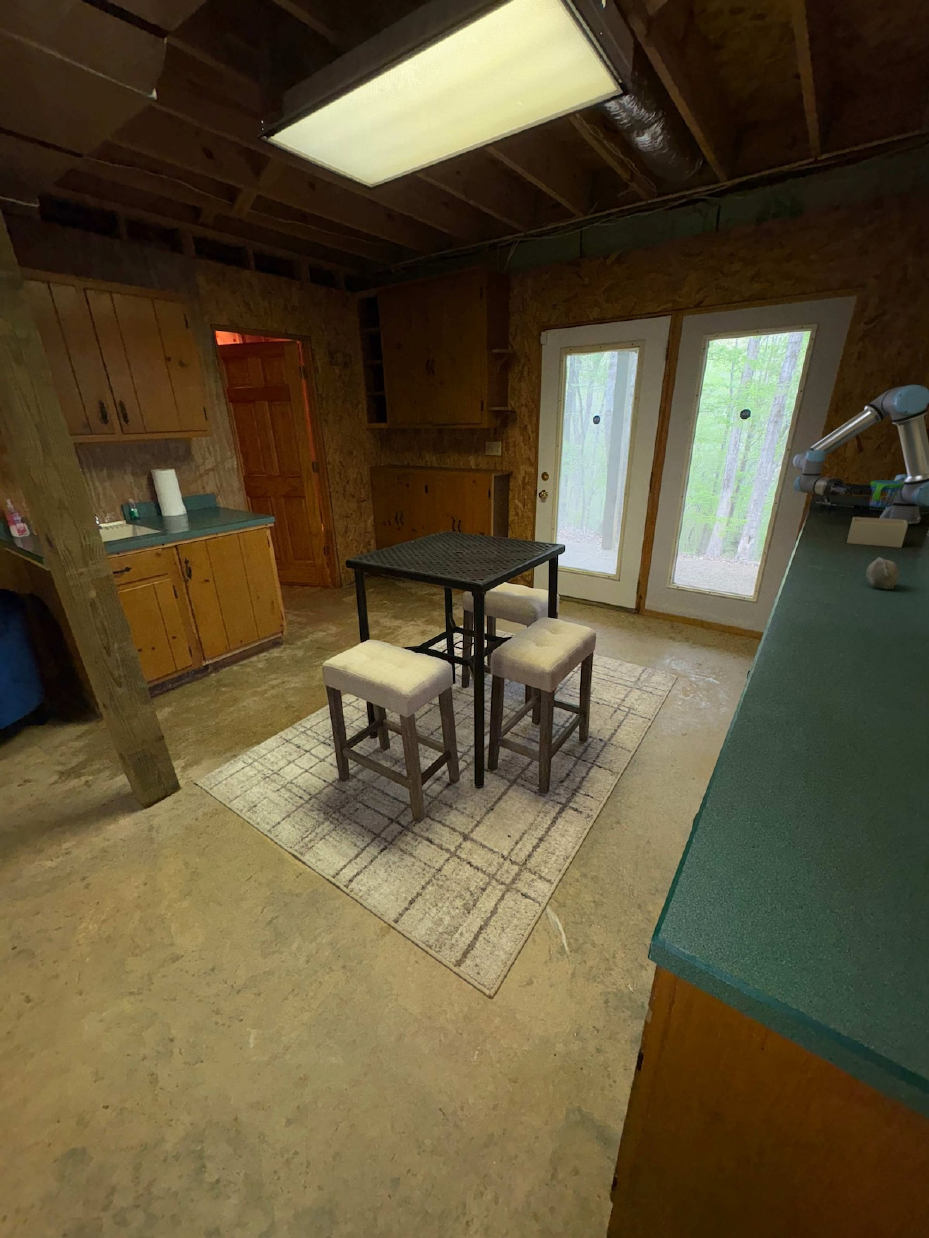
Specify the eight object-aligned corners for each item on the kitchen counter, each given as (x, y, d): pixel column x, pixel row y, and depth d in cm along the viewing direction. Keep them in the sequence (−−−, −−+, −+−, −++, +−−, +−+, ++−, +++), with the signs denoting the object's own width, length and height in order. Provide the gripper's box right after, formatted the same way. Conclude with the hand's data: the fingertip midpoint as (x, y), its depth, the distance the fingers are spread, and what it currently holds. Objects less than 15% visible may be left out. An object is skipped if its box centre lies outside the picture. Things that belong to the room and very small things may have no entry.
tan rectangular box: (847, 537, 214) (853, 517, 211) (900, 541, 204) (906, 520, 200) (846, 543, 204) (852, 521, 201) (901, 547, 194) (907, 525, 191)
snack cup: (876, 502, 212) (883, 478, 208) (904, 505, 203) (912, 481, 199) (855, 507, 206) (862, 482, 202) (884, 510, 197) (892, 485, 193)
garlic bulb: (879, 598, 149) (885, 571, 143) (853, 586, 156) (858, 560, 150) (905, 586, 149) (912, 559, 144) (878, 574, 156) (884, 548, 151)
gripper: (845, 492, 228) (897, 497, 210) (809, 497, 220) (859, 502, 202) (849, 476, 226) (902, 479, 207) (813, 480, 218) (864, 484, 199)
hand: (881, 491), depth 204 cm, fingers closed on snack cup, 13 cm apart
